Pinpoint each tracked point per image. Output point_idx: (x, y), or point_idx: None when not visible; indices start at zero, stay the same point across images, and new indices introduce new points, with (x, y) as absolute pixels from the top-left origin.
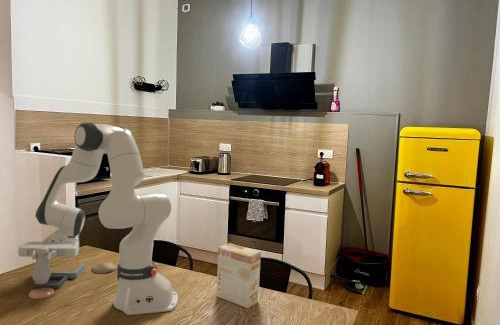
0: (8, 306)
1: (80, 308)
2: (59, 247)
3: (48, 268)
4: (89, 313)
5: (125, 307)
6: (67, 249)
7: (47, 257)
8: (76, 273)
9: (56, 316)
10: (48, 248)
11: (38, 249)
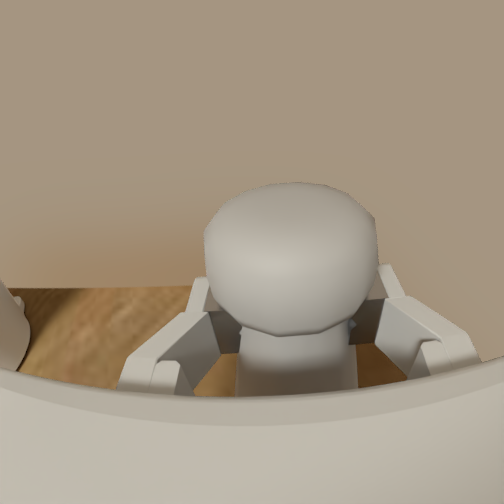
0: (370, 343)
1: (109, 338)
2: (66, 406)
3: (235, 387)
4: (90, 313)
5: (15, 301)
6: (3, 370)
7: None
8: None
9: (174, 301)
10: (206, 259)
11: (301, 184)
